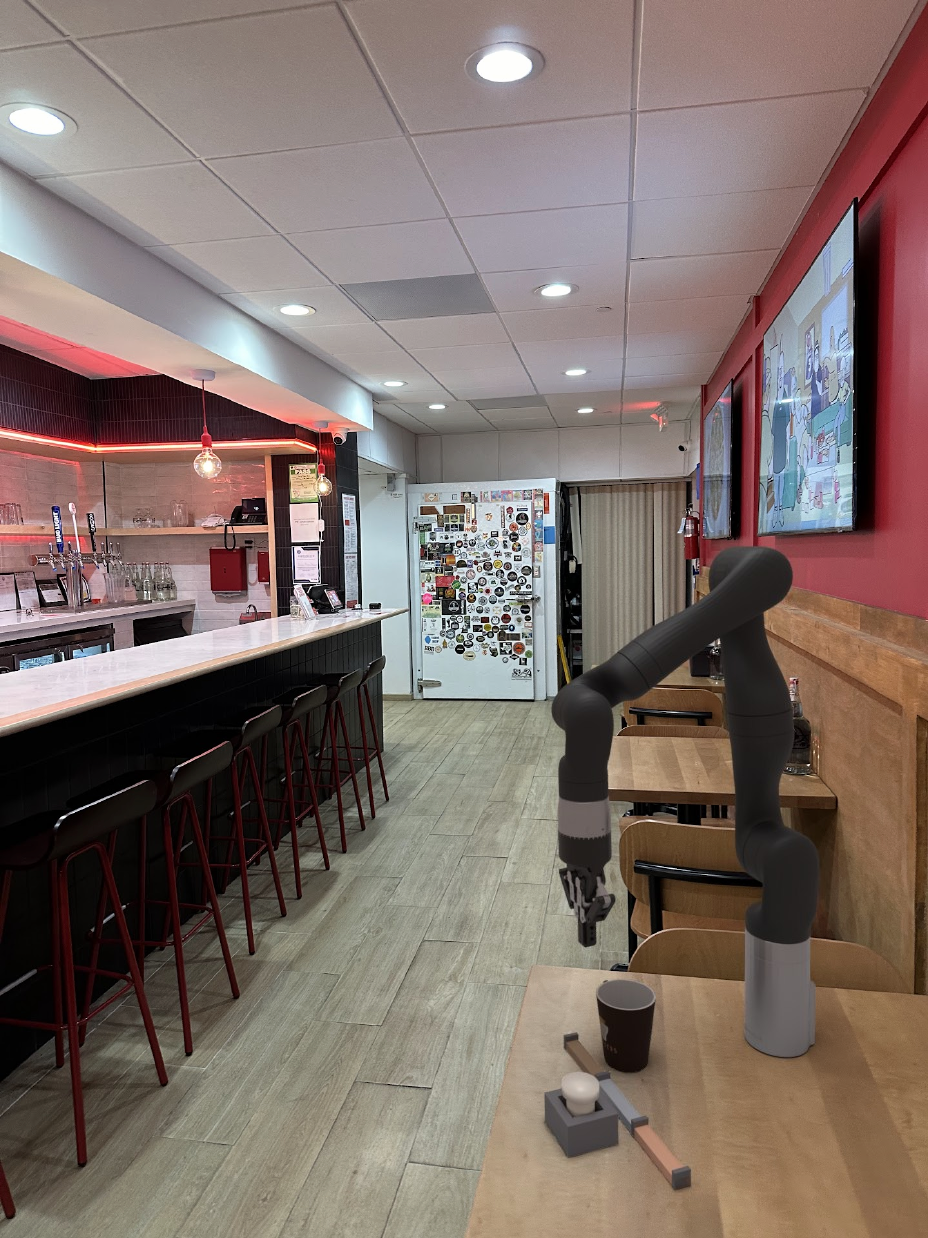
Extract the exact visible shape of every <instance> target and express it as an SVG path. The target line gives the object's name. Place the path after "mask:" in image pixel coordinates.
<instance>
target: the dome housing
mask: <svg viewBox="0 0 928 1238" xmlns="http://www.w3.org/2000/svg"><path fill="white" fill-rule="evenodd" d="M543 1099H544V1122H545V1124H546V1126H547V1127H548V1129H549V1131H550V1132H551V1133H552V1134H553V1137H554V1138H555V1140H556V1141H557V1143H558V1145H559V1146H560V1148H561V1149H562V1150H563V1152H564V1153H565V1155H566V1156H567V1158H568V1159H569V1158H573V1157H575V1156H579V1155H583V1154H586V1153H590V1152H594V1151H598V1150H601V1149H605V1148H608V1147H612V1146H616V1145H618V1144H619V1117H618V1113H617V1112H616V1110H615V1109H614V1108H613V1107H612V1105H611V1104H610V1103H609V1101H608V1100H607V1099H606V1098H605V1096H604V1095H603V1094H602V1093H601V1091H600V1090H599V1097H598V1099H597V1100H596V1101H595V1112H593V1113H589V1114H585V1115H581V1116H578V1117H574V1118H572V1116H571V1115H570V1113H569V1112H568V1110H567V1106H566V1099H565V1098H564V1097H563V1095H562V1087H560V1088H558V1089H557V1088H556V1089H554V1090H550V1091H546V1092H544V1098H543Z"/></svg>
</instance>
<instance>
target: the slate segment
mask: <svg viewBox="0 0 928 1238" xmlns="http://www.w3.org/2000/svg"><path fill="white" fill-rule="evenodd" d="M603 1071H604V1072H600V1073H596V1074H595V1078H596V1079H597V1080H598V1082H599V1090H600V1091H601V1093H602V1094H603V1095H604V1096H605V1098H606V1099H607V1100H608V1101H609V1103H610V1104H611V1105H612V1107H613V1108H614V1109H615V1110H616V1112H617V1113H618V1119H620V1121H621V1122H622V1123H623V1125H624V1126H625V1127H626V1128H627V1130H628V1131H629V1132H630V1133H631V1119H634V1118H638V1117H642V1115H641V1114H640V1113H639V1112H638V1111H637V1109H636V1108H635V1107H634V1106H633V1104H632V1103H631V1102H630V1101H629V1099H628V1098H627V1097H626V1096H625V1094H623V1092H622V1091H621V1089H619V1088H618V1086H617V1085H616V1084H615V1083H614V1081H613V1080H612V1079H611V1078H612V1075H611V1074H612V1072H611V1071H610V1070H603Z"/></svg>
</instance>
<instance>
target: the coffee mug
mask: <svg viewBox="0 0 928 1238" xmlns="http://www.w3.org/2000/svg"><path fill="white" fill-rule="evenodd" d="M595 996H596V1002H597V1003H596V1004H597V1013H598V1021H599V1028H600V1029H599V1030H600V1034H601V1036H600V1037H601V1043H602V1044H601V1045H602V1051H603V1053H602V1054H603V1059H604V1062H605V1063H606V1065H607V1066H608V1067H609V1068H611V1069H613V1070H614V1071H617V1072H621V1073H624V1074H625V1073H626V1074H632V1073H633V1074H634V1073H639V1072H641V1071H643V1070H644V1069H646V1068H647V1067H648V1064H649V1058H650V1057H649V1056H650V1050H651V1041H652V1034H653V1033H652V1032H653V1026H654V1017H655V1008H656V1007H655V1006H656V998H657V996H656V993H655V991H654V989H652V988H651V987H650V986H648V985H647V984H645V983H643V982H640V981H637V980H633V979H626V978H624V979H623V978H621V979H620V978H617V979H609V980H608V979H606V980H603V981H602V983H600V984H599V985H597V988H596V991H595Z"/></svg>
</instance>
